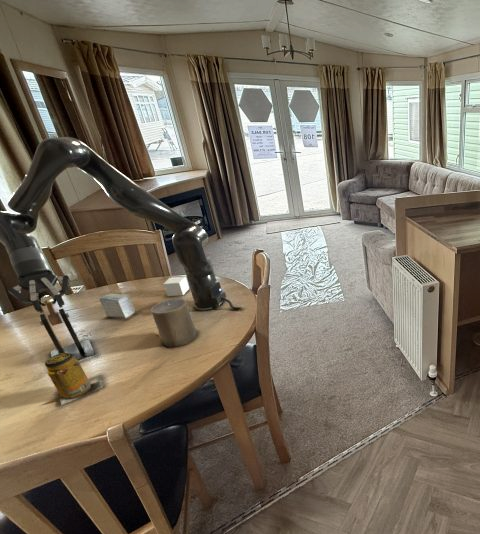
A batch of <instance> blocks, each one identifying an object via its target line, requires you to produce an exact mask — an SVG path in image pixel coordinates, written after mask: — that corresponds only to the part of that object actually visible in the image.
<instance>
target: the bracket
mask: <svg viewBox="0 0 480 534" xmlns="http://www.w3.org/2000/svg"><path fill="white" fill-rule="evenodd" d="M58 313H59V316H60V318H61V320H63V321H62V322H63V323H64V325H65V327H66V329H67V330H68V333H69V334H70V336H71V338H72V341H73V342H74V343H71V344H69V345H65V346H62V344H61V341H60V340H59V338H58V336H57V334H56V333H55V331H54V329H53V326H52V324H51V323H50V321H49V319H48V317H47V315H46V313H40V314H39V318H40V320H39V323H40V325H41V326H44V329H45V330H46V332H47V334H48V335H49V338H50V339H51V341H52V344H53V345H54V347H55V348H56V349H53V350H50V357H52V356H55V355H57V354H61V353H72V354H73V357H75V360H78V361H80V360H83V359H87V358H89V357H93V356H95V355H96V353H95V351H94V347H93V346H92V344H91V341H90V340H89V338H86V339H84V340H80V339H79V337H78V335H77V332H76V331H75V329H74V327H73V325H72V323H71V321H70V319H69V318H70V315H69V313H66V311H65V309H64V308H60V309H58Z"/></svg>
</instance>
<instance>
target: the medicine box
mask: <svg viewBox="0 0 480 534" xmlns="http://www.w3.org/2000/svg"><path fill="white" fill-rule="evenodd" d="M99 302H100V304H101V307H102V309H103V310H104V313H105V315H106V317H107V318H108V317H109V318H110V317H111V318H122V319H127V318H128V317H130V316H132V315H133V314H135V313H137V311H136V309H135V307H134V304H133V302H132V300H131V298H130V295H128V294H121V293H120V294H119V293H108V294H107V295H104V296H103V297H101V298H99Z"/></svg>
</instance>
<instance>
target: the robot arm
mask: <svg viewBox="0 0 480 534" xmlns="http://www.w3.org/2000/svg"><path fill="white" fill-rule="evenodd" d="M37 145H38V146H37V147H36V150H35V152H34V155H33V158H32V160H31V163H30V164H29V168H28V170H27V172H26V174H25V176H24V178H23V180H22V182H21V183H20V185H18V187H17V188H16V190H15V191H14V192H13V194H12V195H11V196H10V198H9V200H8V201H7V207H8V208H9V209H10V210H11V211H13V212H11V211H9V212H8V211H2V210H0V243H1V244H2V245H3V246H4V247H5V250H6V252H7V254H8V257H9V260H10V261H9V262H10V264H11V266H12V268H13V270H14V272H15V275H16V277H17V279H18V284H17V285H15V286H14V287H11V286H10V287H8V288H7V292H8V293H9V294H10V295H11V296H13V297H14V298H15V299H17V300H18V301H19V302H21V303H22V304H25V305H28V304H32V306H33V309H34V310H35V312H37V313H40V314H44V313H45V311H44V309H43V306H42V305H40V303H39V294H41V293H43V292H48V291H49V292H50V293H51V294H52V295H54V296H53V297H54V298H55V299H56V304H57V305H58V307H59V308H60V309H63V308H64V306H65V302H64V299H63V296H64V295H67V294H68V293H69V288H70V280H71V279H70V276H69V275H68V274H64V275H63V276H58V275H56V274H55V273H54V271H53V270H52V267H51V265H50V263H49V260H48V259H47V256H46V254H45V253H44V251H43V250H42V249H41V247H40V244H39V242H38V240H37V238H35V237H34V236H32V235H30V234H32V233H33V232H35V231H36V229H37V226H38V220H39V217H40V212H41V210H42V209H43V208H44V206H46V204H47V202H48V201H49V199H50V198H51V195H52V192H53V185H54V182H55V180H56V179H57V178H58V176H59V175H61V174H62V173H63V172H64V171H65V170H67V169H68V168H70V169H71V168H76V169H78V170H80V171H81V172H84V173H85V174H86V175H88V176H90V177H91V178H92V179H94V180H95V181H96V182H97V183H98V184H99V185H100V186H101V188H102V189H103V190H104V192H105V193H106V195H107V196H108V197H109V198H110V200H111V201H113V202H114V203H115V204H116V205H118V206H119V207H121V208H122V209H124V210H125V211H127V212H128V213H130V214H131V215H133V216H135V217H138V218H140V219H144V220H146V221H149V222H153V223H155V224H157V225H160V226H162V227H164V228H165V229H167V230H168V231H170V232H171V233H173V236H172V241H171V242H172V246H173V249H174V252H175V254H176V258H177V260H178V262H179V264H180V265H181V266H182V268H183V271H184V274H185V277H186V280H187V283H188V287H189V290H190V293H191V296H192V300H193V305H194V306H195V307H194V308H195V309H196V310H198V311H209V310H216V309H217V308H219V307H220V306H221V305H222V304H223V303H224V302H227V303H228V304H229V306H230V308H231V309H233V310H242V309H243V307H241V306H236V307H235V306H234V305H233V303H232V301H231V300H229V299H227V293H226V291H223V290H222V286H221V283H220V281H217V277H216V273H215V270H214V266H213V263H212V258H210V257H209V256H206V253H205V250H204V246H205V245H206V244H207V243H208V241H209V235H208V233H207V232H206V230H205V229H204V228H203V227H201V226H200V225H198V224H196V223H195V222H193V221H191V220H190V219H188V218H186V217H184V216H183V215H181V214H180V213H178V212H176V211H175V210H174V209H172V208H171V207H170V206H168V205H167V204H166V203H164V202H162V201H161V200H160V199H158V198H157V197H155V195H153V194H152V193H150V192H149V191H147V190H146V189H145V188H143V186H140V185H139V184H138V183H136V182H134V181H133V180H132V179H130V178H129V177H127V176H126V175H125V174H123V173H122V172H120V171H119V170H118V169H117V168H115V167H114V166H113V165H111V164H109V163H108V162H107V161H106V160H104V159H103V158H102V157H101V156H100V155H99V154H98V153H97V152H95V151H94V149H92V148H90V147H89V146H88V145H87V144H86V143H84V142H83V141H81V140H79V139H77V138H75V137H70V136H57V137H56V136H55V137H48V138H45V139H42V140H41V141H40V142H39V144H37ZM58 281H59V282H60V283H61V288H60V290H58V289H57V288H56V287H55V285H56V283H57V282H58ZM21 289H23V290H25V291H28V292H29V295H30V297H26V296H24V295H23V294H22V290H21Z"/></svg>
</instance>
